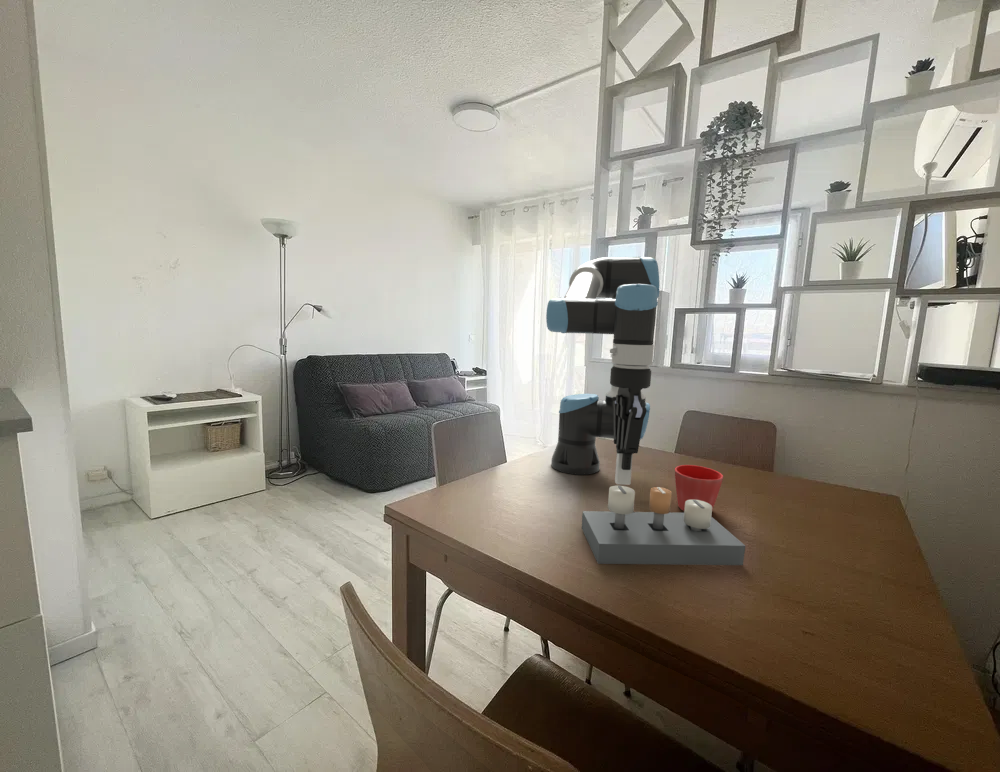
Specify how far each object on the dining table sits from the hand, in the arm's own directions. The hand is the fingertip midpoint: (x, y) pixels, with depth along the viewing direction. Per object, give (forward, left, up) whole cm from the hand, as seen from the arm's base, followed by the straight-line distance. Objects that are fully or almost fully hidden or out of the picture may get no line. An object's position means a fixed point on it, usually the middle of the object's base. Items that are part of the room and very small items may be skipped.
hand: (622, 483), depth 85 cm
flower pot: (-18, +25, -14) cm, 34 cm away
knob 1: (0, 0, -9) cm, 9 cm away
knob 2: (0, +16, -12) cm, 20 cm away
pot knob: (0, +8, -9) cm, 12 cm away
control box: (0, +8, -13) cm, 16 cm away
